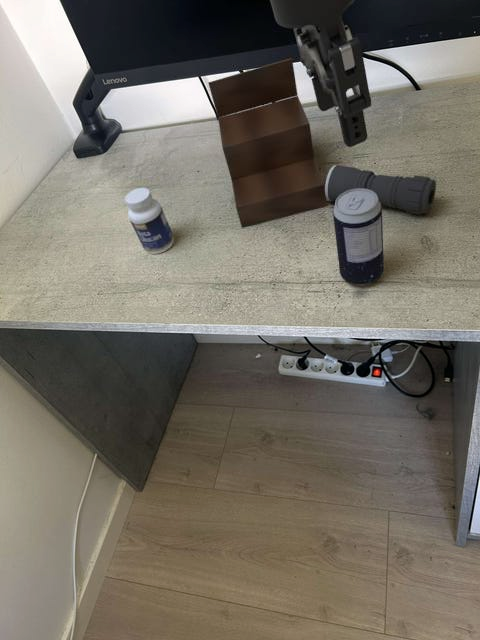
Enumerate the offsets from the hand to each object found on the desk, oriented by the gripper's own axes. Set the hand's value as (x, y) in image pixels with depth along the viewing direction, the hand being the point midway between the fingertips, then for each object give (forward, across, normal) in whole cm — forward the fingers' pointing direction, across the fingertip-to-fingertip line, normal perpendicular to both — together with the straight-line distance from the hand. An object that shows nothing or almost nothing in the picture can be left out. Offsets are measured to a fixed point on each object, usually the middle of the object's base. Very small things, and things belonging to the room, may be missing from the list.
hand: (341, 123), depth 51 cm
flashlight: (+22, +11, -5) cm, 25 cm away
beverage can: (+21, -2, +2) cm, 21 cm away
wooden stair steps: (+21, +25, +7) cm, 33 cm away
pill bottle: (+18, +19, +29) cm, 39 cm away
